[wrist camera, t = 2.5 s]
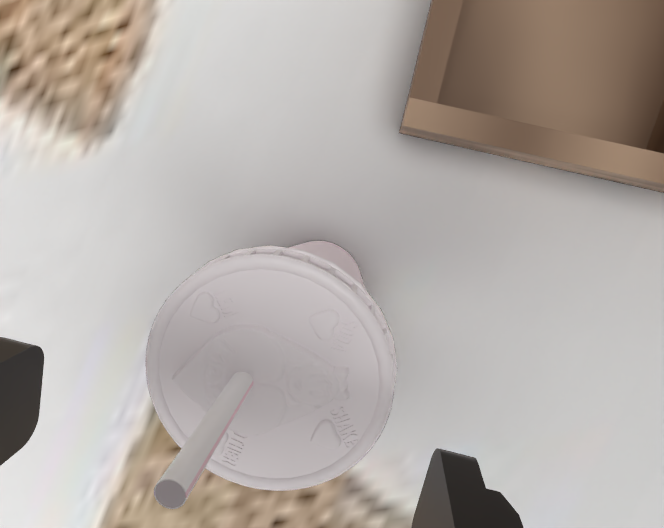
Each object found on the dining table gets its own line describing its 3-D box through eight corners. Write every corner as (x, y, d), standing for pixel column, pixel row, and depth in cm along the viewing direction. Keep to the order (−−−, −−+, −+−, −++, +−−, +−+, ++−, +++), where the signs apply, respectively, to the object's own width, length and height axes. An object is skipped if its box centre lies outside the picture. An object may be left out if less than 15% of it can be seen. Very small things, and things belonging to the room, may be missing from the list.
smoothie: (243, 208, 22) (-9, 303, 8) (395, 208, 21) (405, 311, 7) (250, 350, 23) (45, 640, 9) (393, 354, 22) (399, 675, 9)
